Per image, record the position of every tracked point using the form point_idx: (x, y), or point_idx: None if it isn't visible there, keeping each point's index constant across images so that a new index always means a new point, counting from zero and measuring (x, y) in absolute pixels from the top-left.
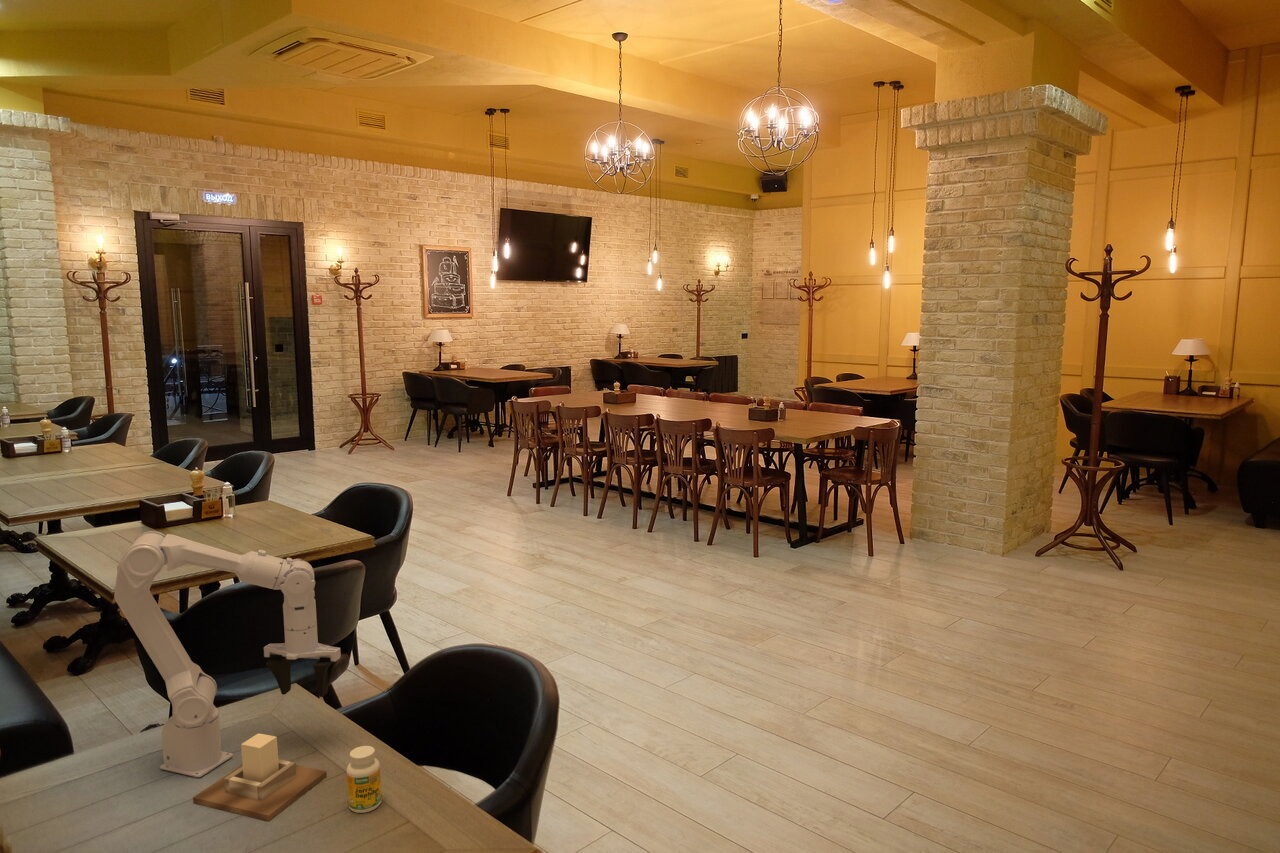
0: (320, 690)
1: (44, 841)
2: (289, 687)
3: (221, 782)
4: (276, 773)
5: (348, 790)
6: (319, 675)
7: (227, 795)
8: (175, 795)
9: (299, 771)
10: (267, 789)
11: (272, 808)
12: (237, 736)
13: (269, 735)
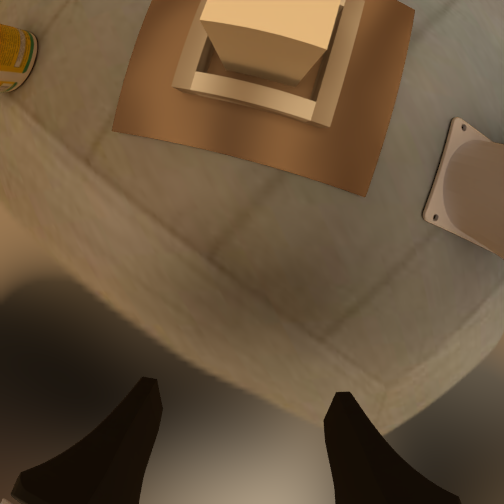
0: (131, 399)
1: None
2: (327, 427)
3: (389, 61)
4: None
5: (8, 27)
6: (86, 462)
7: None
8: (459, 55)
9: (185, 117)
10: None
11: None
12: (433, 304)
13: (249, 27)
